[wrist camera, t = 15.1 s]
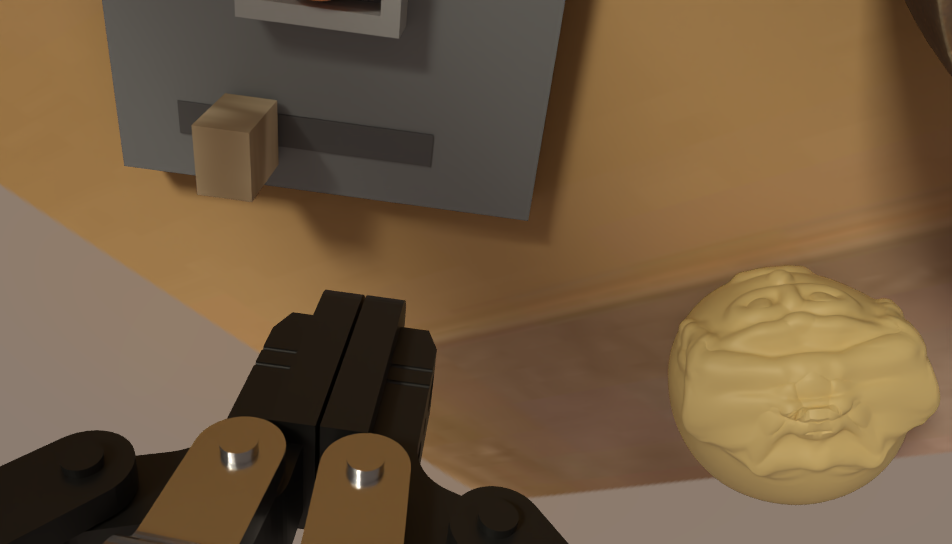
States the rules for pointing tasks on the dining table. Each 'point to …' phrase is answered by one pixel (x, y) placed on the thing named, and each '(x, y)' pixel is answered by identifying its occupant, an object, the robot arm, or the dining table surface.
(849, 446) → the sculpture
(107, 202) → the dining table surface
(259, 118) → the slide paddle
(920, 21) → the plant pot
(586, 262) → the dining table surface
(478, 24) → the control panel
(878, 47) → the dining table surface
